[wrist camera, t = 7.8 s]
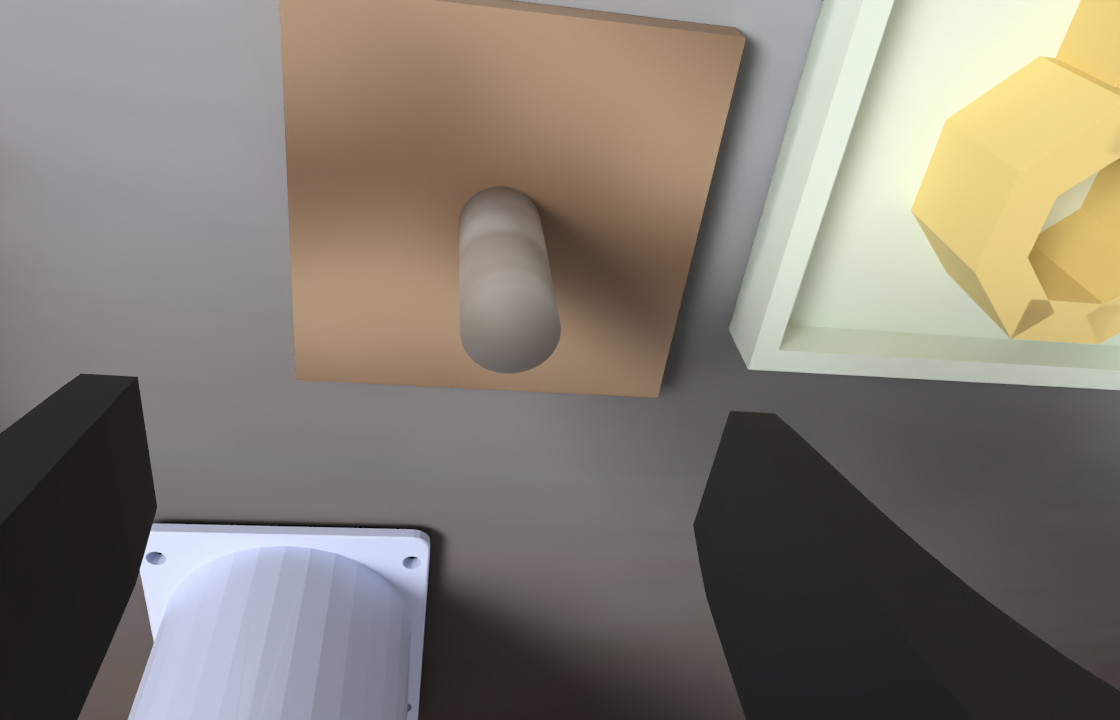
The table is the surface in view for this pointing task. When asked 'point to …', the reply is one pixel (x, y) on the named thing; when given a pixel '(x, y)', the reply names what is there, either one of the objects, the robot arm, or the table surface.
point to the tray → (893, 203)
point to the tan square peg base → (495, 189)
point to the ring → (1036, 190)
